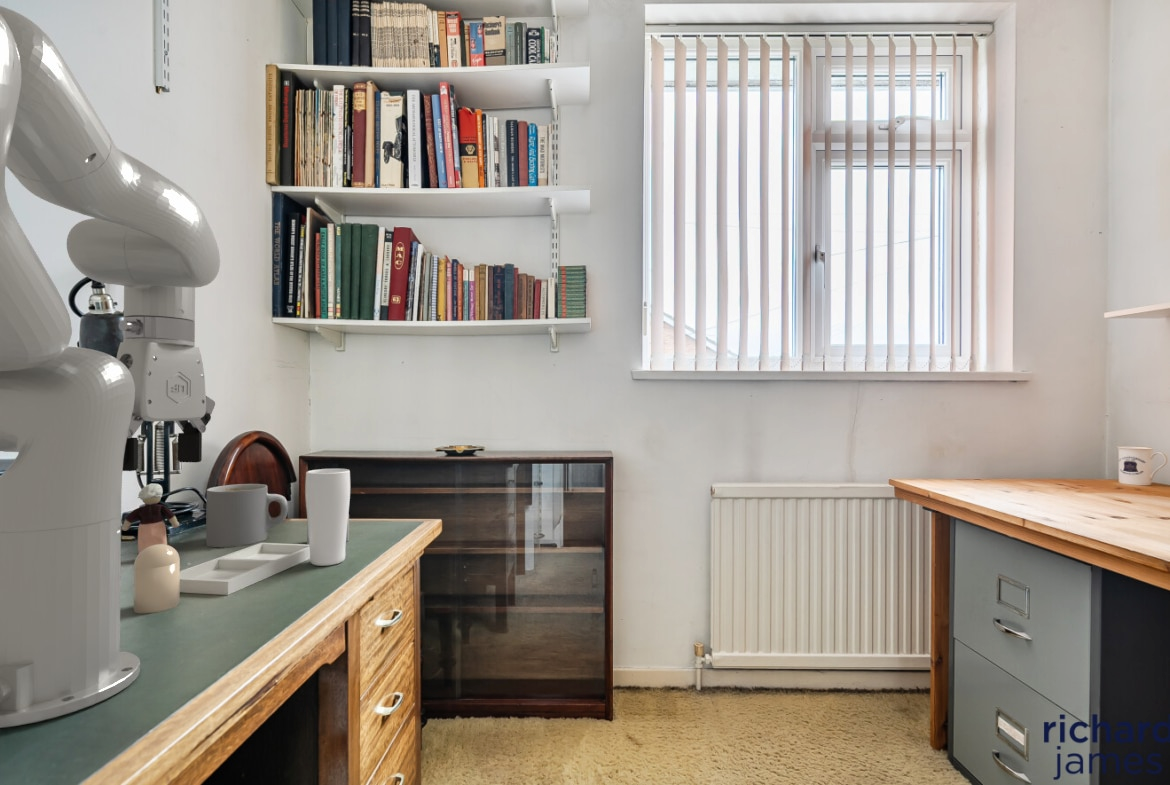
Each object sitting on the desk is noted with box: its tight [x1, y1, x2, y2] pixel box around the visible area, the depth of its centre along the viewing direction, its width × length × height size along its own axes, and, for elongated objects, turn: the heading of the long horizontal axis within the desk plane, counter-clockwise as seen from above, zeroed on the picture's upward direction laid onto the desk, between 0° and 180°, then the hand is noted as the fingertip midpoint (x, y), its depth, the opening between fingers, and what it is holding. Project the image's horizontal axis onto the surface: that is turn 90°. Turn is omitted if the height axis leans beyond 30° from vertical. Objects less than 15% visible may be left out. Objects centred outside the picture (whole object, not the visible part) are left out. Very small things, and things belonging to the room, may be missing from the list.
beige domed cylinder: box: [133, 544, 181, 614], centre depth 76 cm, size 5×5×8 cm
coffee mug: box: [205, 483, 289, 548], centre depth 112 cm, size 13×10×10 cm
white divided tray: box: [180, 542, 310, 596], centre depth 91 cm, size 20×11×2 cm, turn 172°
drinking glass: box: [304, 468, 351, 567], centre depth 96 cm, size 7×7×15 cm
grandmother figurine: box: [121, 483, 180, 554], centre depth 98 cm, size 8×4×13 cm, turn 130°
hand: (159, 465), depth 76 cm, fingers open, 9 cm apart
